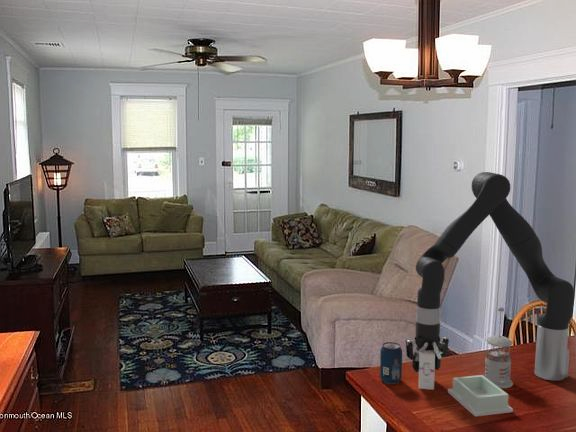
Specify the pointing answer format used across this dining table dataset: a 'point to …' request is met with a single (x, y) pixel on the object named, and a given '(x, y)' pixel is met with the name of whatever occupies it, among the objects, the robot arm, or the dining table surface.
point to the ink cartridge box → (426, 369)
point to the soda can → (391, 363)
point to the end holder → (480, 395)
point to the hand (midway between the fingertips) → (426, 369)
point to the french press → (499, 360)
